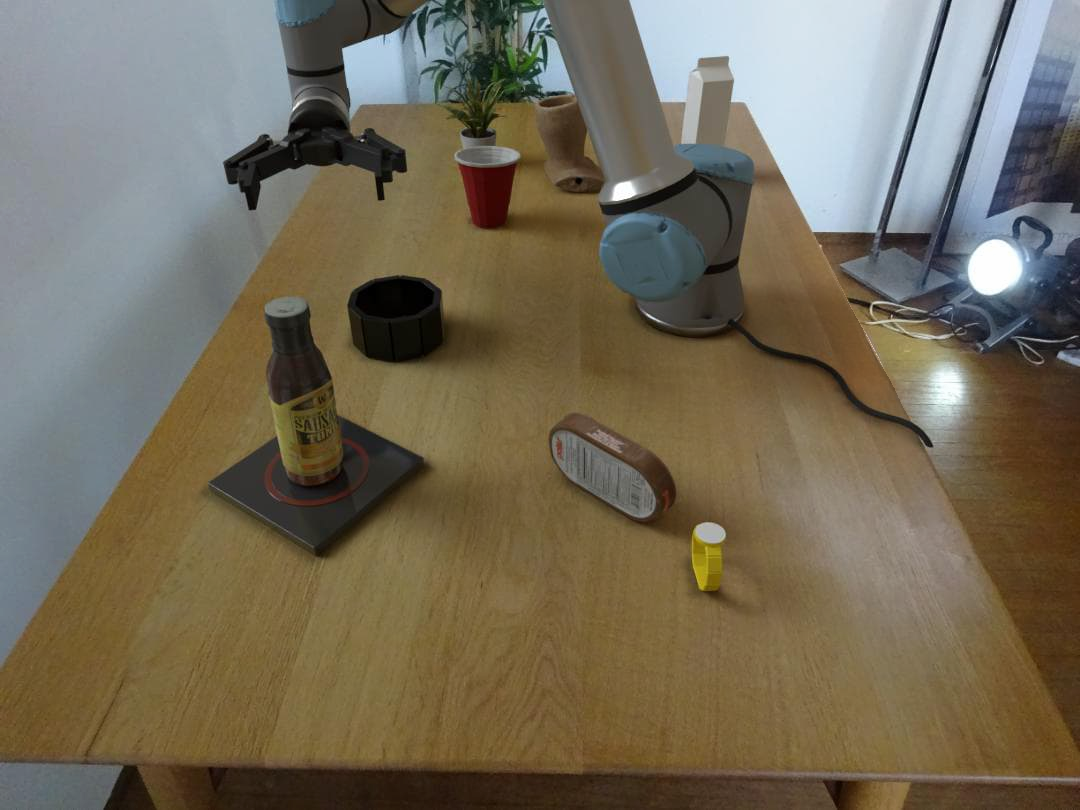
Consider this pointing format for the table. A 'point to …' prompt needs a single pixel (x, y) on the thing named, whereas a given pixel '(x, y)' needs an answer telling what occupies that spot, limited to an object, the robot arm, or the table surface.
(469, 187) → the plastic cup
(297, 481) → the sauce bottle
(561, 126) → the clay boot vase
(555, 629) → the table surface
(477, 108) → the house plant
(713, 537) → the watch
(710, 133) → the milk
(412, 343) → the bottle holder
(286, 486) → the hob plate
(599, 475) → the tin
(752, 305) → the table surface
